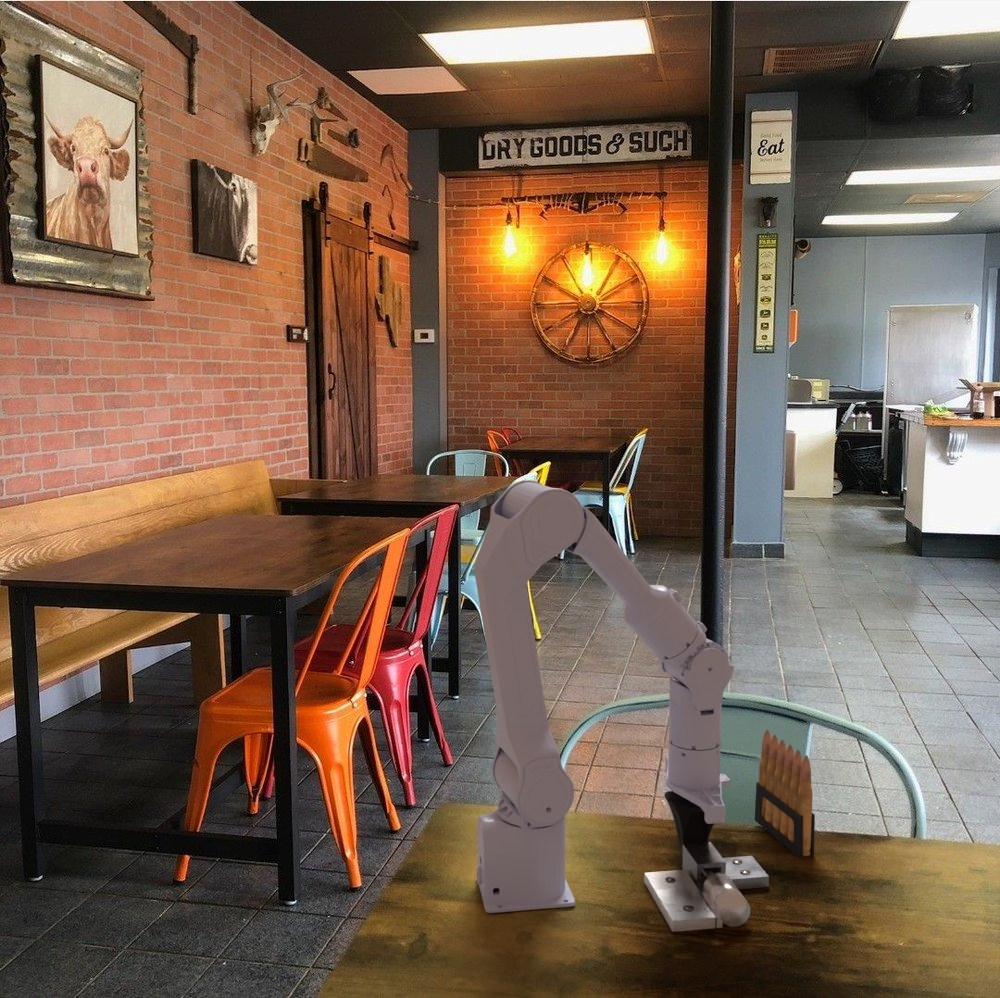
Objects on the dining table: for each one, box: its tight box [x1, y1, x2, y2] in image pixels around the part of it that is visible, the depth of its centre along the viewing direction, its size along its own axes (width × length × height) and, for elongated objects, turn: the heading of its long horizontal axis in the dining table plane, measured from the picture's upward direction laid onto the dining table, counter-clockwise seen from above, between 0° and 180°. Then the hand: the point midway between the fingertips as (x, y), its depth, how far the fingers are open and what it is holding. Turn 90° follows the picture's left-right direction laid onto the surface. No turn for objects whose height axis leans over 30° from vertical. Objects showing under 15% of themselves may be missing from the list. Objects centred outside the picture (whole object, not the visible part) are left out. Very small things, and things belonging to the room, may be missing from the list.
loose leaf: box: [681, 841, 770, 892], centre depth 112 cm, size 8×5×3 cm, turn 98°
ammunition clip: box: [754, 729, 816, 859], centre depth 122 cm, size 11×2×12 cm, turn 15°
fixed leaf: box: [643, 868, 751, 933], centre depth 107 cm, size 8×10×3 cm
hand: (692, 857), depth 116 cm, fingers closed
